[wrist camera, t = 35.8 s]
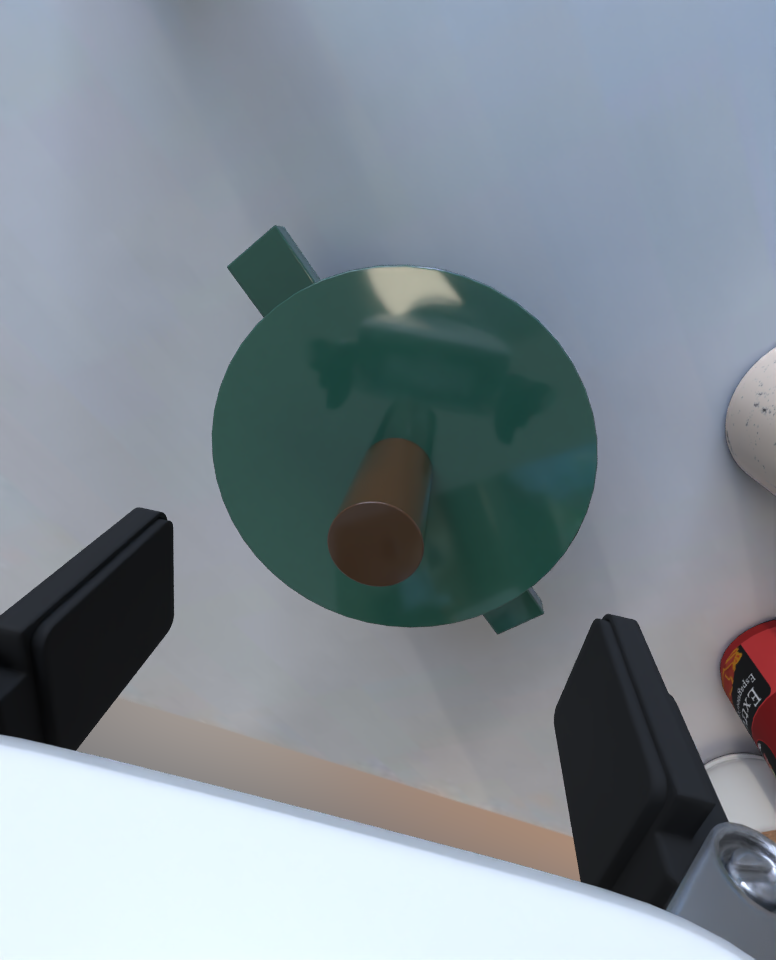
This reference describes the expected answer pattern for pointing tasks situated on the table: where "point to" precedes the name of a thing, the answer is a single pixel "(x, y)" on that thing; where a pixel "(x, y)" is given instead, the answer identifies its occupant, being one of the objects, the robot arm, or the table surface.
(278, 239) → the pot
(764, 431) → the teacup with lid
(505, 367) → the pot lid
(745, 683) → the canned food
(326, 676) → the table surface
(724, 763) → the trinket box
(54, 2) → the table surface
